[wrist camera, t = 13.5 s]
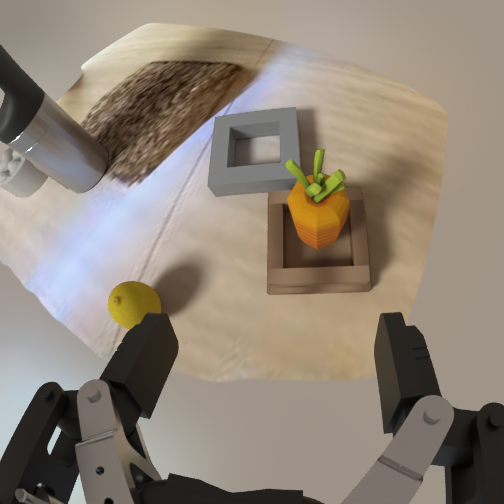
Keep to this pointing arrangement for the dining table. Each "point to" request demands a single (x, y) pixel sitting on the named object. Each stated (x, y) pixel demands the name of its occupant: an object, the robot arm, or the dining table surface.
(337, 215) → the carrot
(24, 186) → the lumpy-topped squat cylinder
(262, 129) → the socket block
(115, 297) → the lemon
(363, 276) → the square wooden tray
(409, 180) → the dining table surface
